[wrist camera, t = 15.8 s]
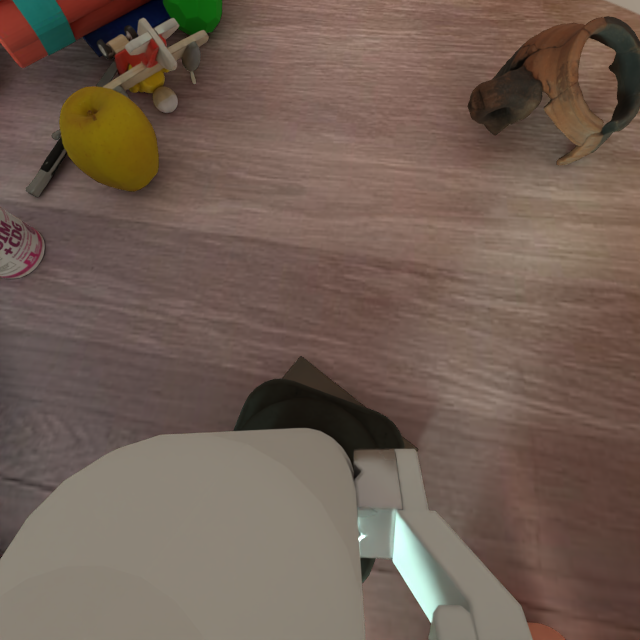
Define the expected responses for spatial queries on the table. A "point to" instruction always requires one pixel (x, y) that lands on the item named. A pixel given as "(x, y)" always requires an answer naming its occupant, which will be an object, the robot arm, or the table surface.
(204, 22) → the polyhedron
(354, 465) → the robot arm
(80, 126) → the apple
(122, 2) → the simulated explosive device
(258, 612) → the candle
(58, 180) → the table surface
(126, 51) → the toy airplane
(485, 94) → the pottery mug
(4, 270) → the pill bottle
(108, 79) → the knife
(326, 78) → the table surface
